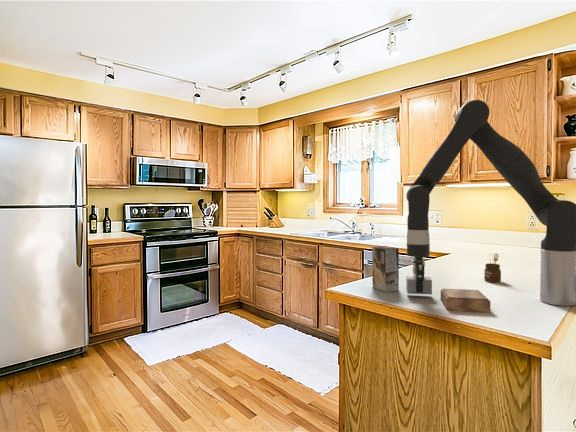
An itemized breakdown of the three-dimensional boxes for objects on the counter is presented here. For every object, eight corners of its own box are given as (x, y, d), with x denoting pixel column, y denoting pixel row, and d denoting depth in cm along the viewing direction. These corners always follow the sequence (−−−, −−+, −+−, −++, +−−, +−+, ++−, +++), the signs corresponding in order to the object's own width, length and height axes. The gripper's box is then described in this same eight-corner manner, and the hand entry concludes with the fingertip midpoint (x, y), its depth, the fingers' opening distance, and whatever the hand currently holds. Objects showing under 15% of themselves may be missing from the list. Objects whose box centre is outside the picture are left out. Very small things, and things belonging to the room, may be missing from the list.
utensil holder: (496, 279, 149) (496, 251, 149) (504, 283, 143) (504, 253, 142) (481, 279, 150) (481, 251, 149) (488, 283, 143) (488, 253, 143)
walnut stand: (479, 301, 118) (479, 289, 117) (490, 312, 106) (490, 299, 106) (440, 299, 121) (440, 288, 120) (446, 310, 109) (447, 297, 109)
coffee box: (399, 290, 134) (399, 248, 133) (385, 292, 131) (385, 249, 131) (385, 285, 142) (384, 245, 142) (371, 287, 140) (371, 246, 139)
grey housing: (430, 290, 127) (429, 274, 126) (431, 294, 122) (431, 277, 121) (406, 290, 129) (406, 274, 128) (407, 293, 124) (407, 277, 124)
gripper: (432, 244, 117) (432, 296, 117) (426, 240, 130) (427, 285, 131) (408, 244, 119) (409, 295, 119) (405, 240, 132) (406, 285, 133)
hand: (418, 290), depth 125 cm, fingers closed on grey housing, 5 cm apart
